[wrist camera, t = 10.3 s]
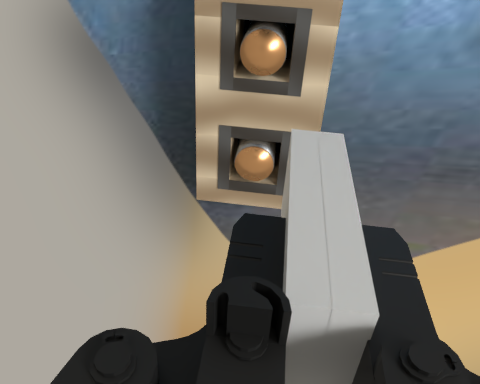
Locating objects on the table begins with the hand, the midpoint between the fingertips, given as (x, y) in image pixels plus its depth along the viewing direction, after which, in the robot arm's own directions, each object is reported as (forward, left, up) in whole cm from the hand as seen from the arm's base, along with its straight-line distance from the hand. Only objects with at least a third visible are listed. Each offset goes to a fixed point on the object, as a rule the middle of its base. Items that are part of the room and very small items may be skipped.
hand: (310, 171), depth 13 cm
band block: (+9, -3, -32) cm, 34 cm away
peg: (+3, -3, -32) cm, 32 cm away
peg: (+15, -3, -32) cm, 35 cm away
